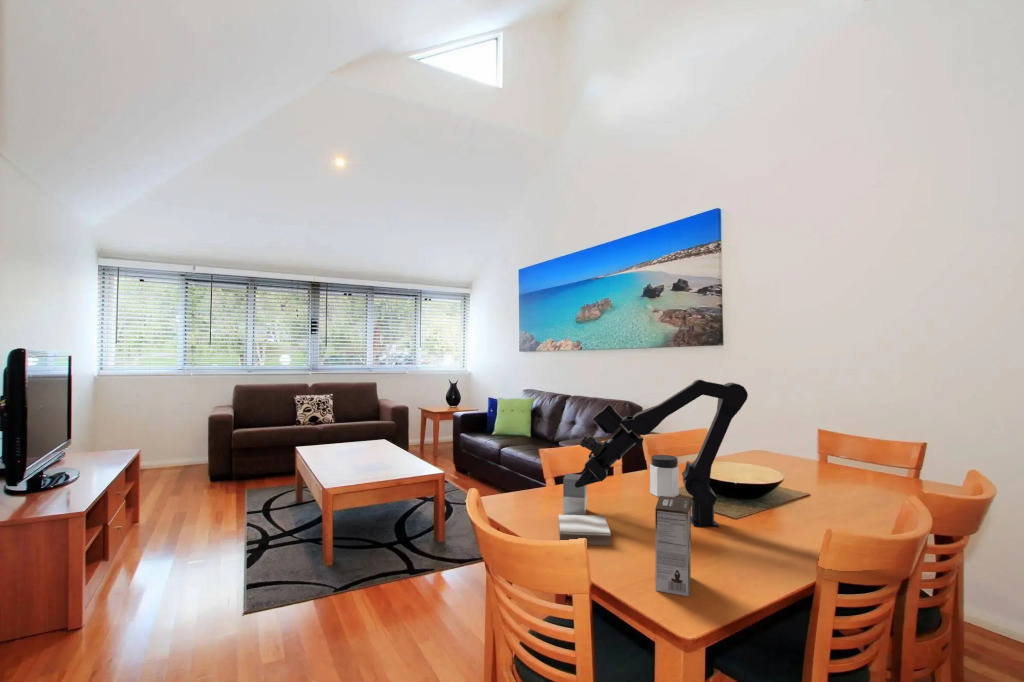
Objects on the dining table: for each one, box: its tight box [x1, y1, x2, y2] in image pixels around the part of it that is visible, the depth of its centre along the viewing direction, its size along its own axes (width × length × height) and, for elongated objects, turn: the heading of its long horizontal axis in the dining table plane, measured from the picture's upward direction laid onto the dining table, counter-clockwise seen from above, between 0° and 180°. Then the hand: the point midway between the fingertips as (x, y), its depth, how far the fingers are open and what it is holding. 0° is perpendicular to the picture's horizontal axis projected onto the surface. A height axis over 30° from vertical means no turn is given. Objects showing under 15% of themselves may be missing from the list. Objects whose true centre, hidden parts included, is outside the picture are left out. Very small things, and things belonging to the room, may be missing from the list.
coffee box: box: [654, 496, 692, 597], centre depth 96 cm, size 9×6×16 cm
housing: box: [562, 473, 588, 515], centre depth 139 cm, size 6×6×10 cm
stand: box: [558, 513, 612, 547], centre depth 121 cm, size 12×12×3 cm
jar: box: [649, 454, 680, 498], centre depth 157 cm, size 9×8×12 cm
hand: (577, 482), depth 139 cm, fingers open, 9 cm apart
